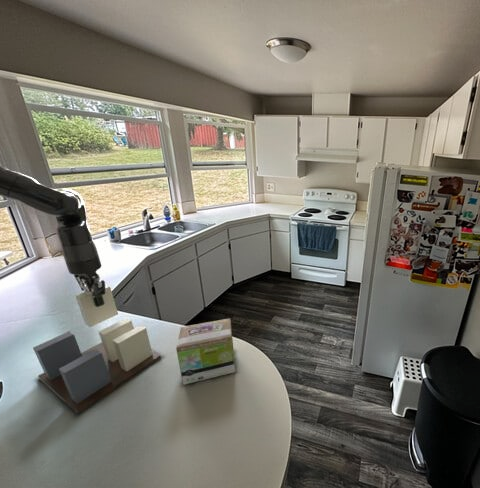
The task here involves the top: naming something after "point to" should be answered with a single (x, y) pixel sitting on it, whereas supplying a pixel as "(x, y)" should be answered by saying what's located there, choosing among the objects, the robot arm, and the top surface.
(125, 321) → the cream book
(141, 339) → the cream book
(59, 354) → the grey book
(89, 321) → the cream book
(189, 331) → the tea box
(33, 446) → the top surface
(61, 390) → the shelf board
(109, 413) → the top surface
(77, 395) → the grey book
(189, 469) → the top surface
